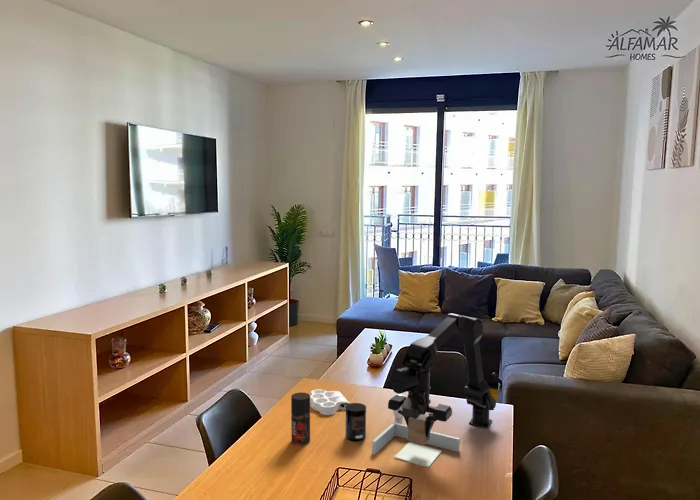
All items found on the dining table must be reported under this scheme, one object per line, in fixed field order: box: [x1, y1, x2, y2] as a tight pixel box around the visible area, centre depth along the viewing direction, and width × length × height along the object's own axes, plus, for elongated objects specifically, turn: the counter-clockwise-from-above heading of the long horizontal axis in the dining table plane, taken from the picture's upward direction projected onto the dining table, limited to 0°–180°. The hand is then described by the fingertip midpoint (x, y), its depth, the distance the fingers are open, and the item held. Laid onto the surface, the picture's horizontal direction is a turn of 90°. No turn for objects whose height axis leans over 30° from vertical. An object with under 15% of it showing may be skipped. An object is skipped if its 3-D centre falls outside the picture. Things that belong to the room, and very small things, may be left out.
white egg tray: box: [310, 388, 351, 416], centre depth 196 cm, size 3×18×15 cm
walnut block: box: [407, 414, 430, 446], centre depth 158 cm, size 5×5×7 cm
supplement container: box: [344, 402, 367, 443], centre depth 169 cm, size 7×7×10 cm
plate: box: [394, 441, 443, 469], centre depth 158 cm, size 11×11×1 cm
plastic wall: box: [371, 422, 461, 455], centre depth 160 cm, size 16×22×4 cm
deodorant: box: [290, 392, 311, 446], centre depth 166 cm, size 6×6×15 cm
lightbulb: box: [390, 393, 407, 424], centre depth 179 cm, size 6×6×11 cm
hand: (418, 434), depth 158 cm, fingers closed on walnut block, 5 cm apart
